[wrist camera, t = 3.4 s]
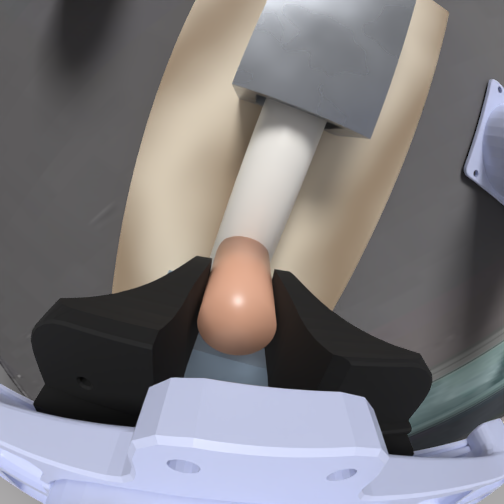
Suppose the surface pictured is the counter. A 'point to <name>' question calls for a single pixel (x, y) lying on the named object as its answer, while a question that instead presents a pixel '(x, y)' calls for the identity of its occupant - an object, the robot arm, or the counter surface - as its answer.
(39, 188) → the counter surface
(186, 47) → the base board
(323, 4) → the sleeve
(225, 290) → the sliding bolt
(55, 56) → the counter surface
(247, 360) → the socket
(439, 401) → the counter surface
